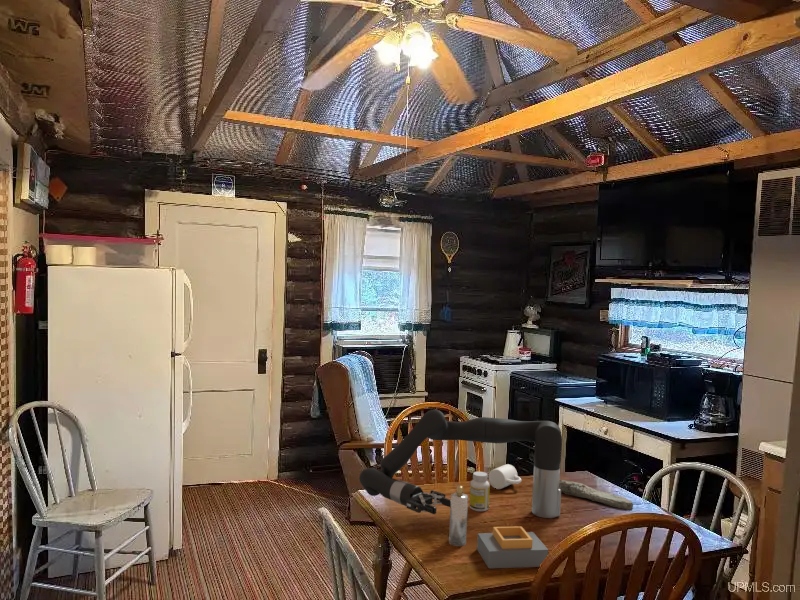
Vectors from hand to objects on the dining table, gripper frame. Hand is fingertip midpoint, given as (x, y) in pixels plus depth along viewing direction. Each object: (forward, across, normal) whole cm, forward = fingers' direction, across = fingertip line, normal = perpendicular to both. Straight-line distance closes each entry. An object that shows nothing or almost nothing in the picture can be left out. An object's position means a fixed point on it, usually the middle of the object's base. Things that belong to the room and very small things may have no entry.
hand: (443, 507), depth 185 cm
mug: (-10, +56, +10) cm, 58 cm away
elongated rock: (+18, +71, +10) cm, 74 cm away
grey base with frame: (+23, +4, +10) cm, 25 cm away
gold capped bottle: (+6, 0, +10) cm, 11 cm away
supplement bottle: (-5, +29, +10) cm, 31 cm away
